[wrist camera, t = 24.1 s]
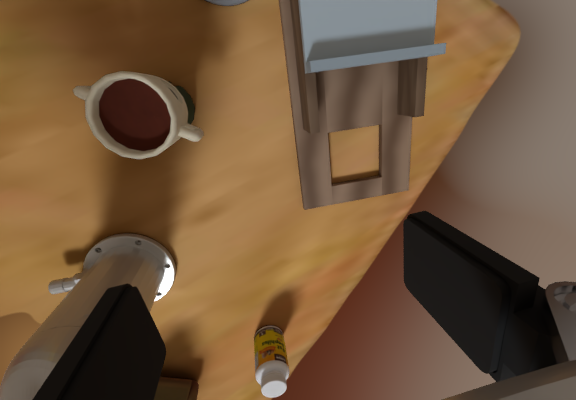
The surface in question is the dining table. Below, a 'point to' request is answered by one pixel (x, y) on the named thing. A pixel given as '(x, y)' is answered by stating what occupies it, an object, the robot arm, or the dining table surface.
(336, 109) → the game box
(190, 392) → the wooden toy train
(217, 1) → the round mat
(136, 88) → the character mug
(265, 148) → the dining table surface
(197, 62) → the dining table surface
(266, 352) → the supplement bottle
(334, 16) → the sliding lid
